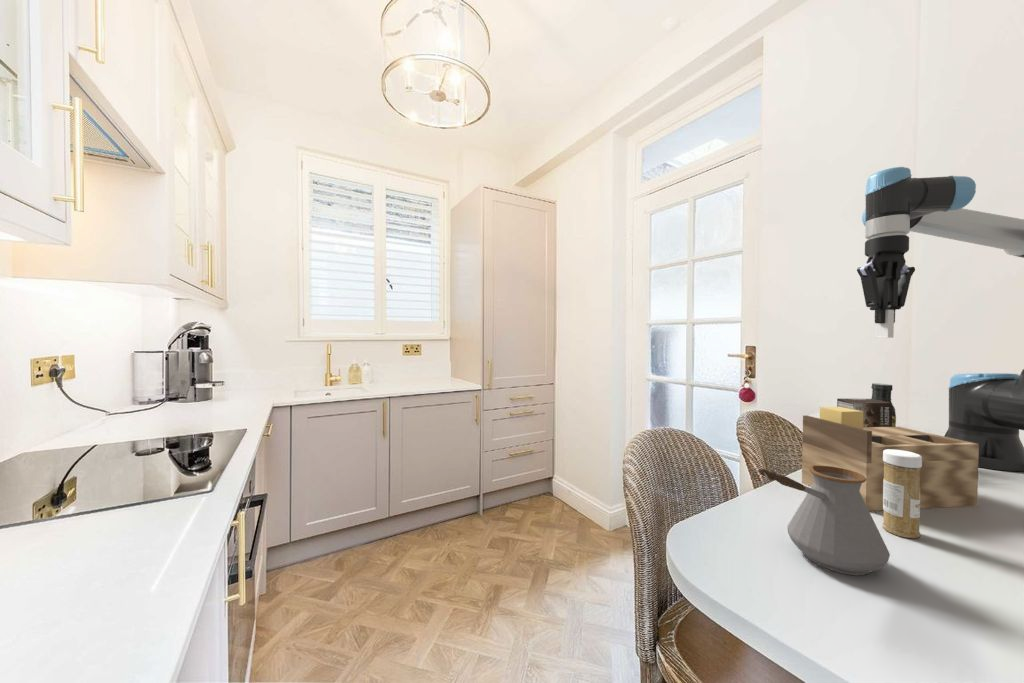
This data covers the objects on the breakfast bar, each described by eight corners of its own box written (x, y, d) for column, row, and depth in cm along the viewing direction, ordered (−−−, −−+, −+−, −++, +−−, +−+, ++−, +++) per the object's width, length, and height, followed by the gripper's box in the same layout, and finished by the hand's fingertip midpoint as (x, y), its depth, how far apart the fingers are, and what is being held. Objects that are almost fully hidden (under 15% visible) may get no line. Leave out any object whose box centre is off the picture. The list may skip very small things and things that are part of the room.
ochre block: (840, 429, 85) (840, 406, 85) (862, 435, 80) (863, 411, 80) (819, 429, 85) (819, 407, 85) (841, 435, 80) (841, 411, 80)
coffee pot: (820, 533, 64) (821, 443, 64) (909, 574, 53) (912, 466, 53) (719, 556, 57) (721, 456, 57) (798, 609, 46) (801, 485, 46)
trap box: (897, 478, 88) (899, 413, 88) (977, 505, 74) (979, 428, 74) (801, 482, 86) (803, 415, 86) (865, 511, 72) (867, 431, 72)
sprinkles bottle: (927, 541, 61) (929, 457, 61) (892, 536, 63) (893, 455, 63) (908, 527, 66) (910, 449, 66) (875, 523, 67) (876, 447, 67)
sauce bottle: (868, 458, 102) (869, 384, 102) (857, 452, 108) (859, 381, 108) (900, 462, 100) (902, 385, 99) (888, 455, 106) (889, 383, 105)
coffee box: (871, 458, 103) (872, 398, 103) (892, 466, 97) (894, 402, 96) (834, 457, 104) (835, 397, 104) (853, 465, 97) (854, 401, 97)
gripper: (893, 242, 95) (891, 337, 96) (846, 240, 94) (844, 337, 94) (929, 234, 88) (927, 337, 88) (878, 232, 86) (876, 337, 87)
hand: (884, 337), depth 91 cm, fingers closed
